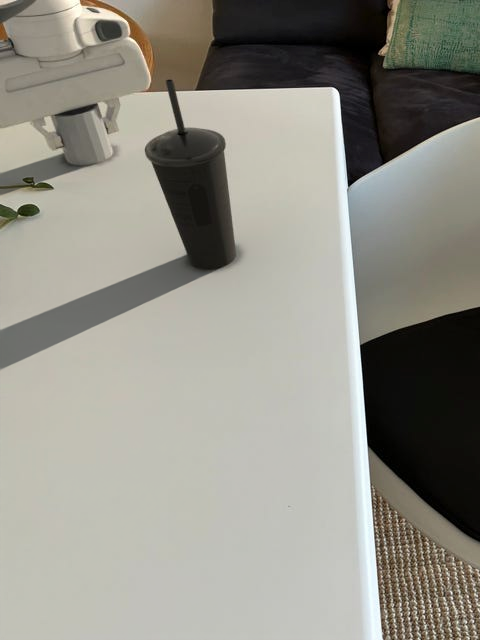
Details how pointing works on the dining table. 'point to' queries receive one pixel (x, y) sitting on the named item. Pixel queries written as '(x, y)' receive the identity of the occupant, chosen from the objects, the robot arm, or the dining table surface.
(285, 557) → the dining table surface
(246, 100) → the dining table surface
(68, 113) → the grey faceted cup
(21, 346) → the dining table surface
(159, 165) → the drinking cup
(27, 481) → the dining table surface
